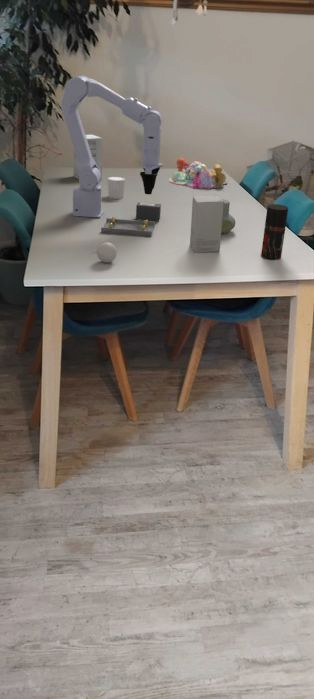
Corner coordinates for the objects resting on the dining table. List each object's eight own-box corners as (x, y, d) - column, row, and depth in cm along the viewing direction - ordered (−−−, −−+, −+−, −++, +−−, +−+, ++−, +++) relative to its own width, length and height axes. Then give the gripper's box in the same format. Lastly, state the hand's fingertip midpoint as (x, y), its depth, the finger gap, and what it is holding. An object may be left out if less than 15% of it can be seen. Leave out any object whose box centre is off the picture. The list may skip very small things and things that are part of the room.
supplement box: (102, 179, 268) (103, 138, 260) (82, 181, 264) (82, 138, 256) (92, 174, 275) (92, 134, 268) (72, 176, 271) (72, 134, 263)
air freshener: (204, 234, 208) (207, 204, 203) (199, 227, 215) (201, 197, 211) (237, 235, 210) (240, 204, 205) (230, 227, 217) (233, 197, 212)
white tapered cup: (128, 198, 244) (128, 179, 241) (112, 200, 241) (113, 181, 237) (118, 193, 249) (119, 175, 246) (103, 195, 246) (103, 177, 242)
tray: (101, 232, 204) (101, 224, 203) (106, 222, 214) (106, 215, 213) (151, 236, 204) (151, 228, 202) (154, 226, 213) (154, 218, 212)
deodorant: (280, 261, 189) (288, 210, 182) (260, 258, 190) (267, 208, 183) (281, 254, 194) (288, 205, 187) (261, 252, 195) (267, 203, 188)
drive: (135, 219, 219) (136, 205, 217) (137, 216, 223) (137, 202, 221) (159, 221, 219) (160, 206, 217) (160, 218, 223) (161, 203, 220)
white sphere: (115, 258, 184) (116, 239, 181) (117, 265, 179) (117, 246, 176) (88, 258, 183) (88, 239, 180) (89, 265, 178) (89, 246, 175)
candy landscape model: (225, 178, 284) (227, 157, 280) (229, 191, 263) (231, 168, 259) (169, 175, 284) (170, 153, 280) (168, 188, 263) (169, 165, 259)
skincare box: (214, 245, 199) (219, 195, 191) (220, 252, 193) (225, 201, 186) (188, 245, 197) (192, 195, 190) (193, 253, 191) (197, 201, 184)
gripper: (161, 154, 204) (159, 197, 210) (165, 146, 217) (162, 187, 223) (139, 153, 204) (137, 195, 210) (144, 145, 217) (142, 185, 223)
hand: (149, 191), depth 217 cm, fingers open, 7 cm apart
